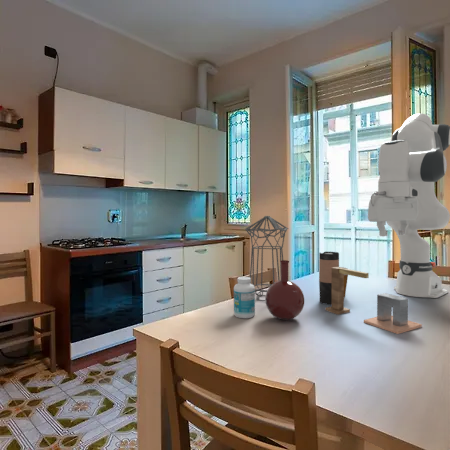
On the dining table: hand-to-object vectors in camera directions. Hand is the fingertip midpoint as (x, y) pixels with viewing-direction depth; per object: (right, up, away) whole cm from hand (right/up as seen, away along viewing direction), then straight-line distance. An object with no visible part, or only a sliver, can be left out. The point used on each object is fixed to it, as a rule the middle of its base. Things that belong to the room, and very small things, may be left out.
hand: (393, 235), depth 106 cm
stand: (-10, -28, +12) cm, 32 cm away
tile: (0, -29, +1) cm, 29 cm away
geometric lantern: (-35, -28, +35) cm, 57 cm away
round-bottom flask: (-33, -29, +8) cm, 45 cm away
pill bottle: (-47, -29, +12) cm, 56 cm away
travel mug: (-12, -28, +28) cm, 41 cm away
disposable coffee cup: (-5, -27, +37) cm, 46 cm away
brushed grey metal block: (0, -28, +1) cm, 28 cm away
